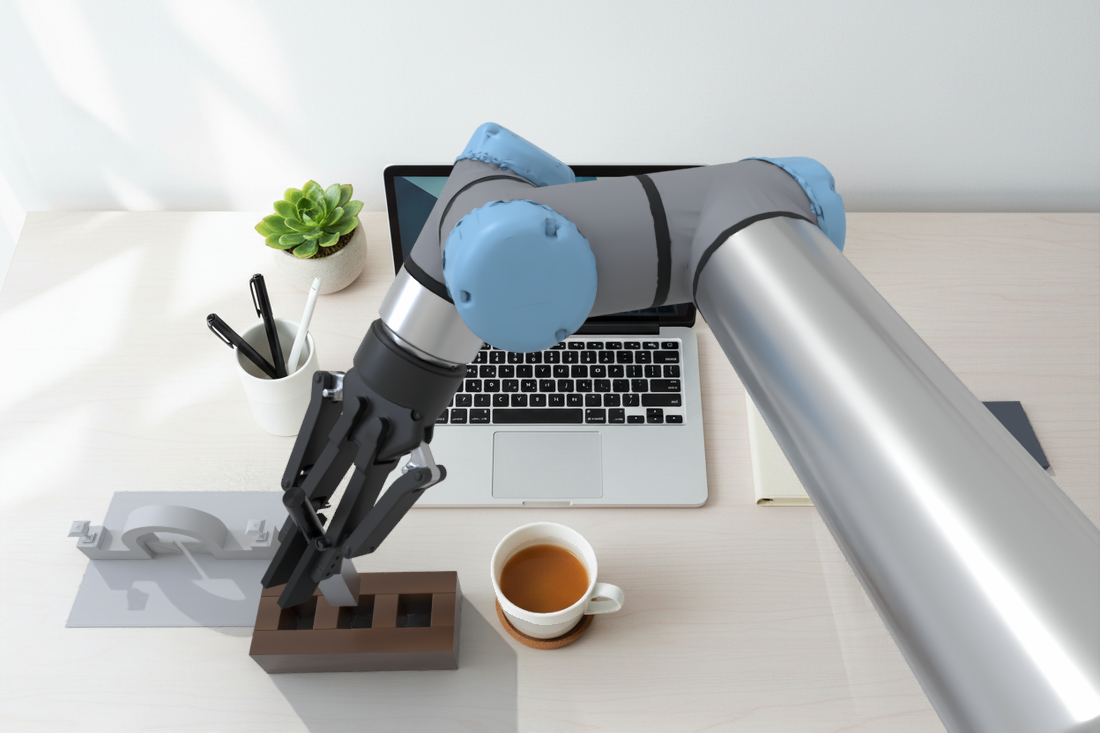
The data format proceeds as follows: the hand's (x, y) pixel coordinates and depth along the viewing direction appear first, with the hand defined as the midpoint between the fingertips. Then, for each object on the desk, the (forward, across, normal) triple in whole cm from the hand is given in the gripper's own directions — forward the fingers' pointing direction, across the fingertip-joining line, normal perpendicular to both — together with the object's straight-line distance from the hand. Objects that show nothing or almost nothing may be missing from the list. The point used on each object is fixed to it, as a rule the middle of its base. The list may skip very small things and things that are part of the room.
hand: (285, 591), depth 61 cm
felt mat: (-36, -33, -62) cm, 79 cm away
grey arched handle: (+16, +20, -10) cm, 28 cm away
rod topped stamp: (+3, 0, -8) cm, 8 cm away
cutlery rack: (+10, 0, -16) cm, 19 cm away
